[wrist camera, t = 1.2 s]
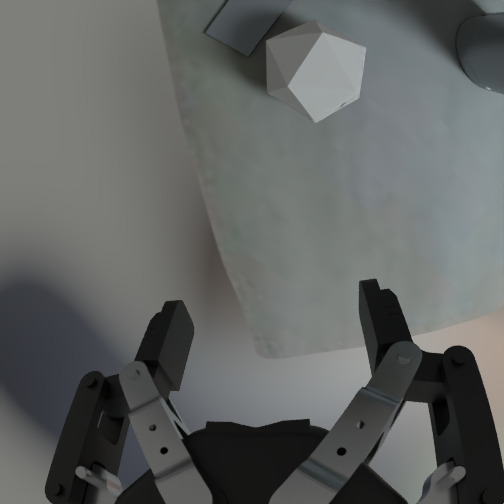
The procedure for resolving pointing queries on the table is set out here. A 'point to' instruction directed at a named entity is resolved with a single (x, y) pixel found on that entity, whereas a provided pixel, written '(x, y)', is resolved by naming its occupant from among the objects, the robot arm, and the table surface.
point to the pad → (246, 22)
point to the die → (314, 69)
